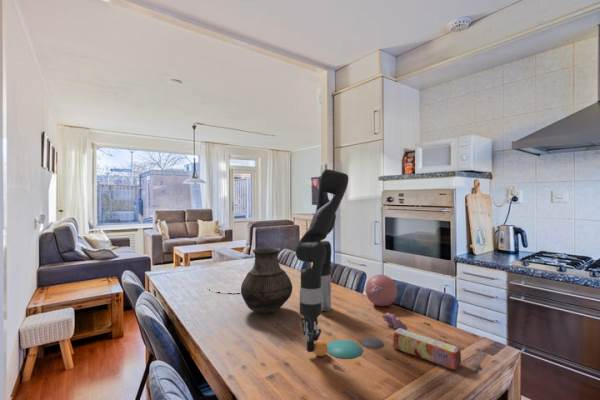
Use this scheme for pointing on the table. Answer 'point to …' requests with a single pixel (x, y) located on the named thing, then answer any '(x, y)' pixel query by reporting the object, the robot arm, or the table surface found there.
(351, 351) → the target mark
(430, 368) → the table surface
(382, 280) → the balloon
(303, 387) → the table surface
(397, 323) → the video game controller
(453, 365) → the snack package
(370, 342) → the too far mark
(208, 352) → the table surface
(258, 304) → the vase
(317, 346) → the ball
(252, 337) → the table surface
